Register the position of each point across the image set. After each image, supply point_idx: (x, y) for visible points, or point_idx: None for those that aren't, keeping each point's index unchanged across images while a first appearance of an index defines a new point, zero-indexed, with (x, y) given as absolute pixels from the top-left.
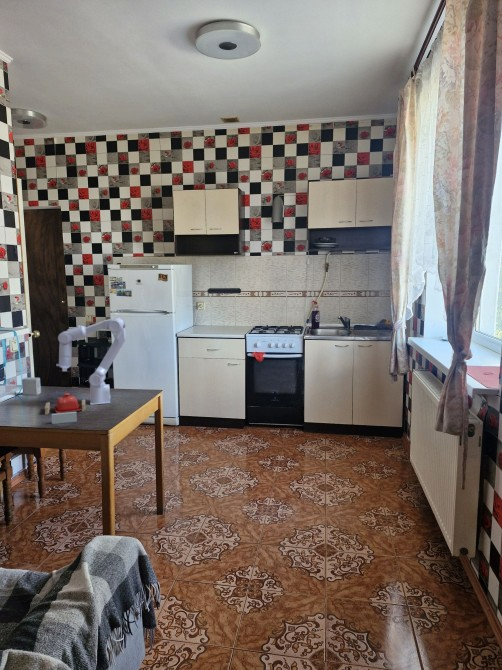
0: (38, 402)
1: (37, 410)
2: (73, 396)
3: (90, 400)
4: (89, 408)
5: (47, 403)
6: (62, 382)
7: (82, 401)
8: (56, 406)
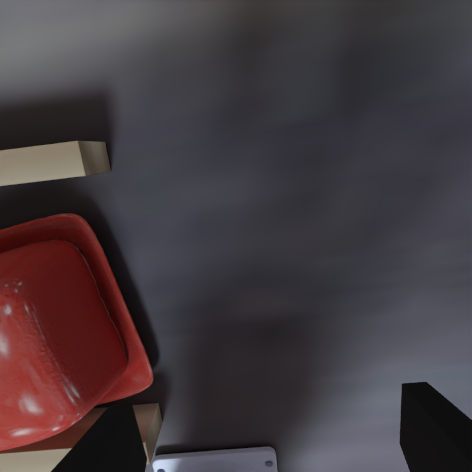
0: (358, 5)
1: (53, 64)
2: (10, 440)
3: (257, 455)
4: None
5: (37, 160)
6: (84, 445)
7: None
8: (27, 246)
